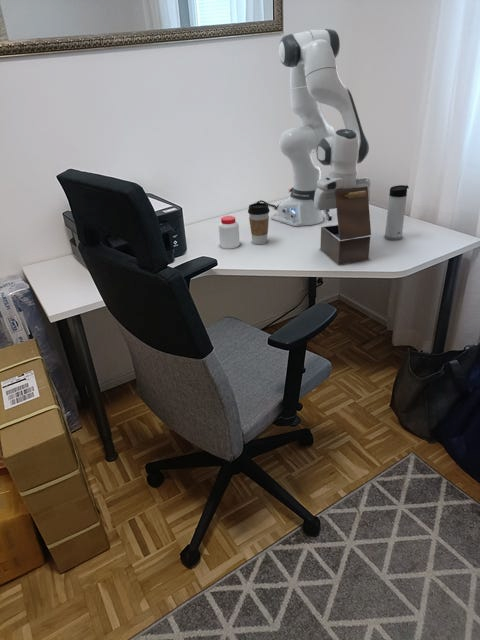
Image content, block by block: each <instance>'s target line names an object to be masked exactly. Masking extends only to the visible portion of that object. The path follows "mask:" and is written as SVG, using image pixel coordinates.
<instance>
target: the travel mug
mask: <svg viewBox="0 0 480 640" xmlns="http://www.w3.org/2000/svg"><path fill="white" fill-rule="evenodd" d="M408 189H409V185H404V184H399V185H393V186H391V187H390V188H389V194H388V204H387V211H386V212H387V213H386V223H385V224H386V225H385V231H384V232H385V234H384V238H385V239H387V240H390V241H399V240H401V239H402V237H403V229H404V222H405V221H404V220H405V213H406V204H407V196H408V194H407V193H408Z"/></svg>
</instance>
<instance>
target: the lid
mask: <svg viewBox="0 0 480 640" xmlns="http://www.w3.org/2000/svg"><path fill="white" fill-rule="evenodd" d="M335 197H336V208H335V209H336V217H337V225H338V230H339V240H343V239H350V238H356V237H362V236H368V235H369V236H371V235H372V228H371V215H370V203H369V202H370V200H369V201H368V188H367V186H366V187H359V188H352V189H344V190H337V191H335Z"/></svg>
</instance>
